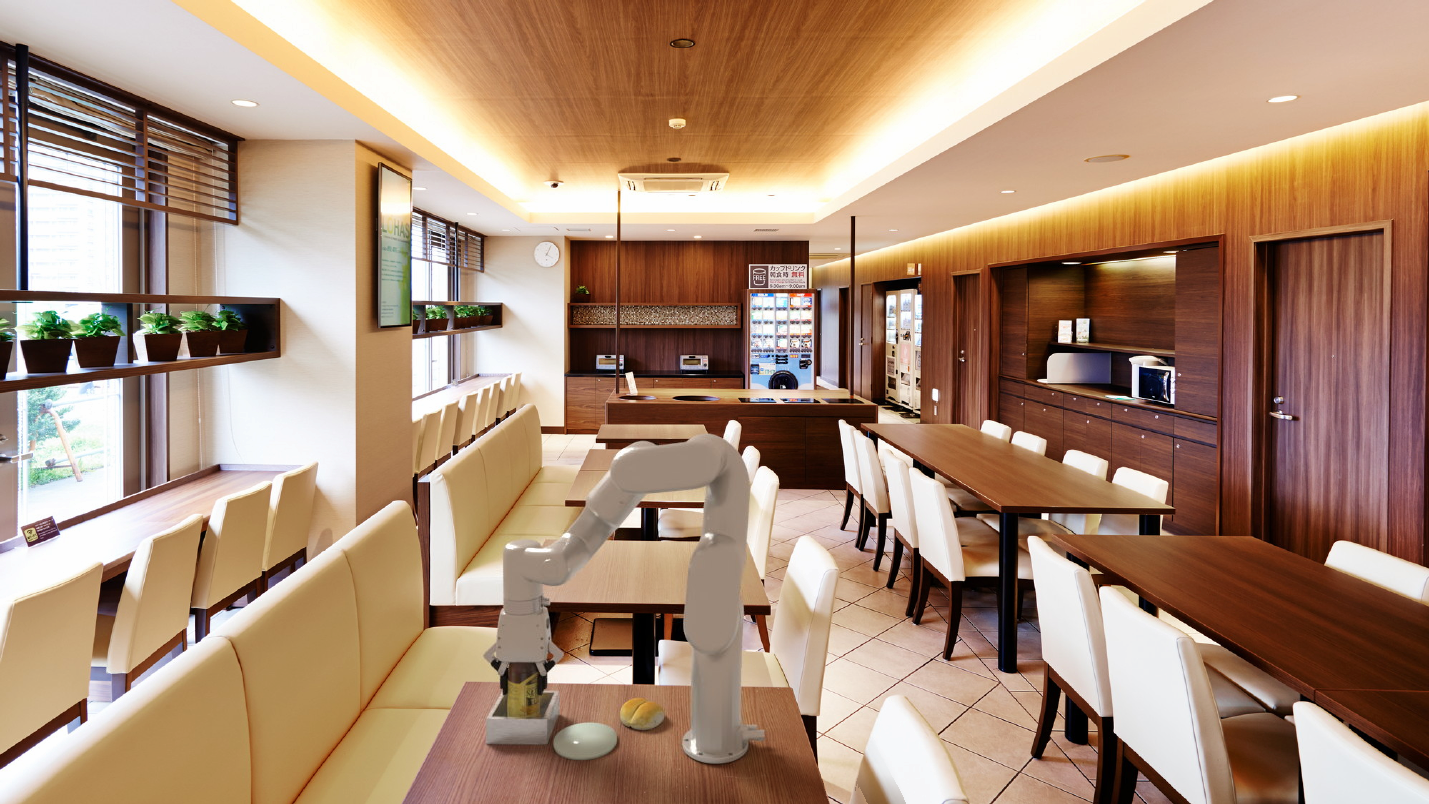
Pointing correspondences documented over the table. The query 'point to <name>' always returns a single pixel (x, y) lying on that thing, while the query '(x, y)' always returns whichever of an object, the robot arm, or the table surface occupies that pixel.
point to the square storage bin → (522, 722)
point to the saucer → (585, 741)
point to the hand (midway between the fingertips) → (523, 691)
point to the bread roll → (641, 714)
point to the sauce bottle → (523, 690)
